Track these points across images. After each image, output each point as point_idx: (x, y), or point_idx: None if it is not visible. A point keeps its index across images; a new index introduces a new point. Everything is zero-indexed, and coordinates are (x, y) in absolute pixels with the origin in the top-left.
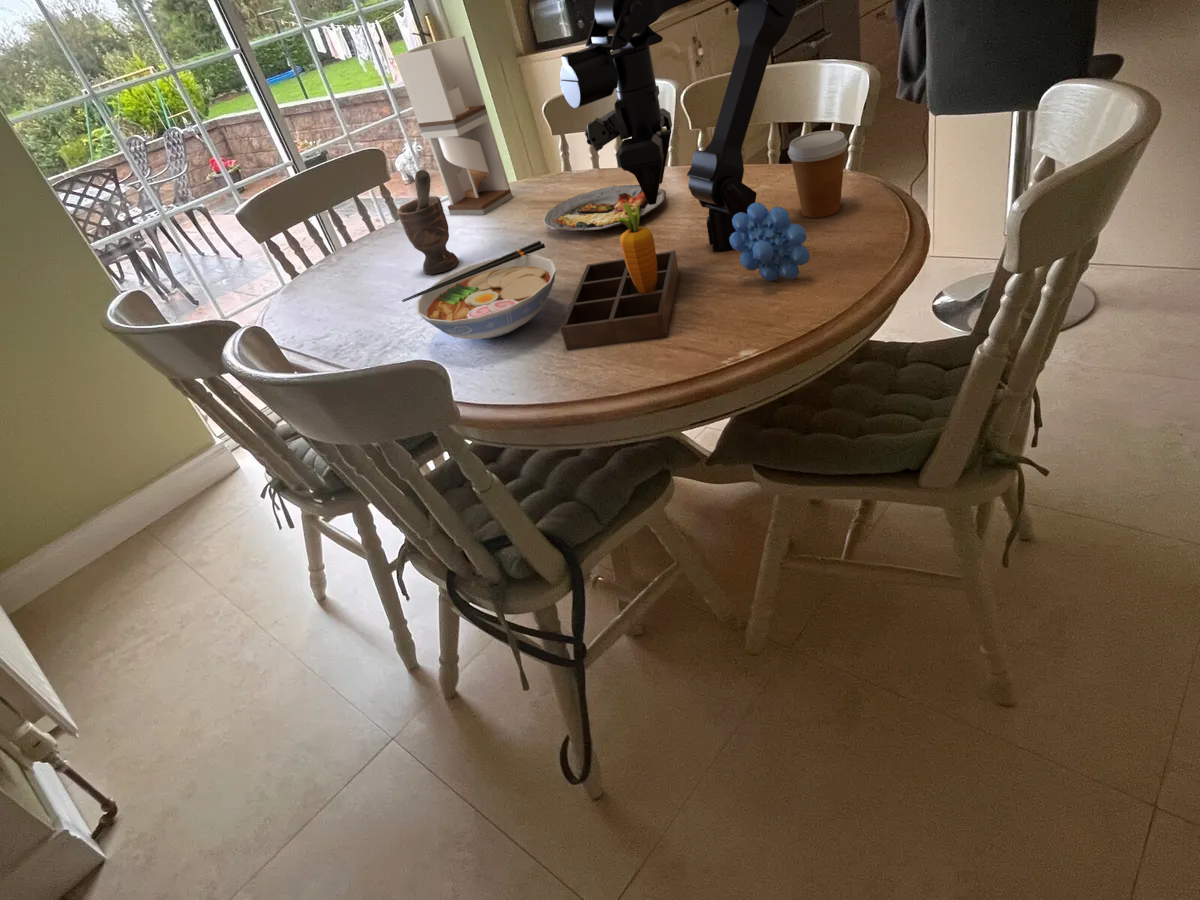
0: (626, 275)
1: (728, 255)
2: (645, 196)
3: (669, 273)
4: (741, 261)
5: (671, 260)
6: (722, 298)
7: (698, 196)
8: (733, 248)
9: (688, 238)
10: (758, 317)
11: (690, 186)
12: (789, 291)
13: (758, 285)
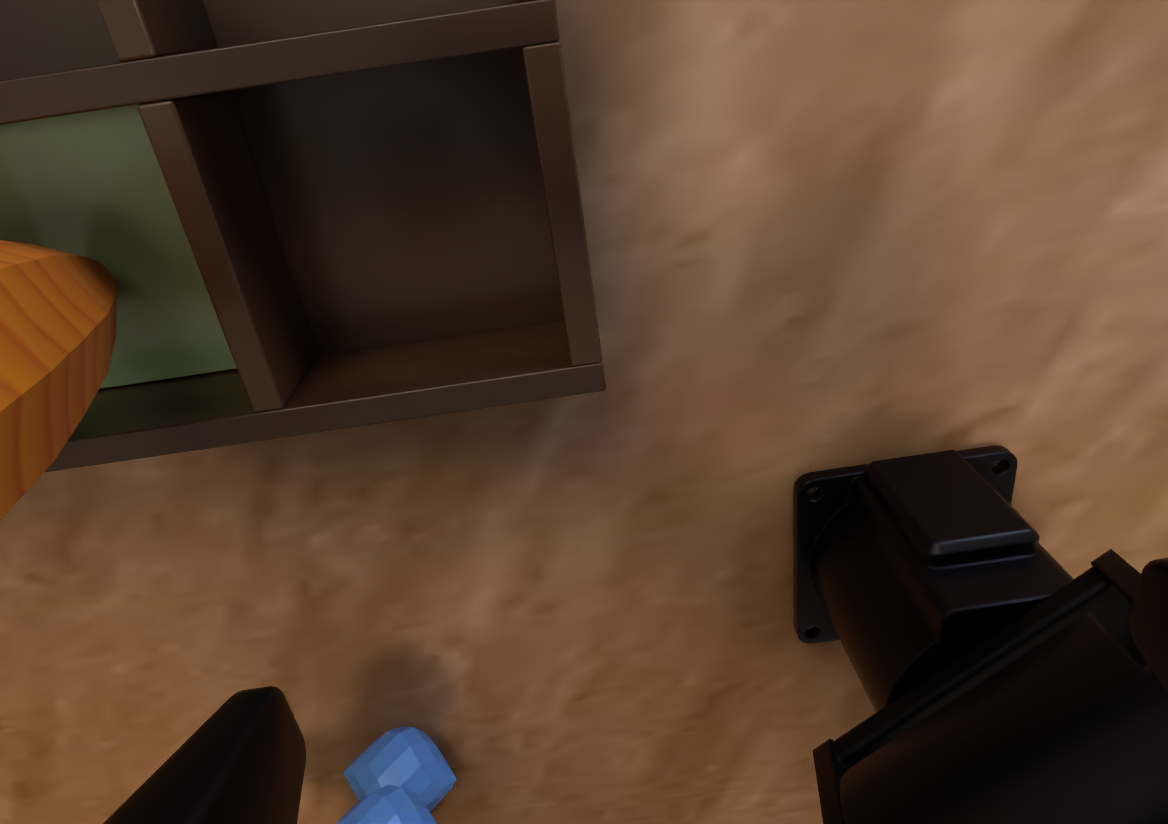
0: (177, 95)
1: (733, 549)
2: (119, 812)
3: (220, 441)
4: (372, 757)
5: (433, 405)
6: (242, 608)
7: (1016, 689)
8: (363, 798)
9: (1098, 279)
10: (82, 752)
11: (1148, 702)
12: (311, 806)
13: (371, 712)
